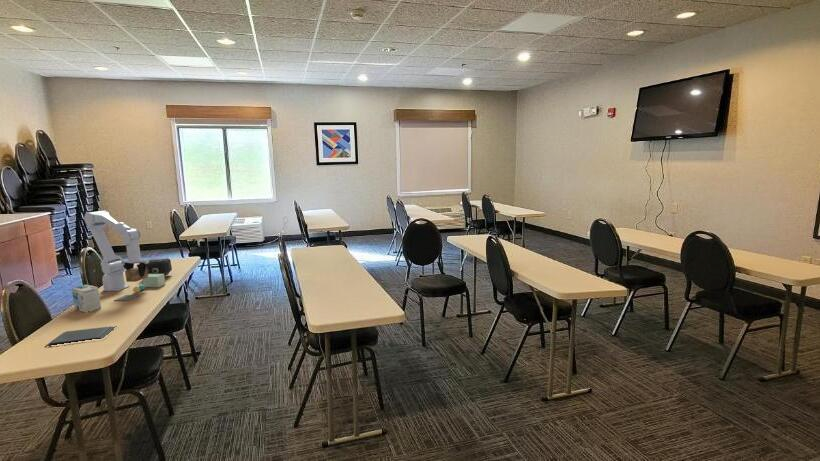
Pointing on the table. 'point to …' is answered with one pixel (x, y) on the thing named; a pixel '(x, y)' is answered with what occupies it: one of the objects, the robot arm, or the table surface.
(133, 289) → the marble
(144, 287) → the marble
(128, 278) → the brown box
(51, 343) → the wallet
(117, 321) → the table surface
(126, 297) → the slate mat
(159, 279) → the sage cover
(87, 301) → the light bulb box
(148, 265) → the camera
